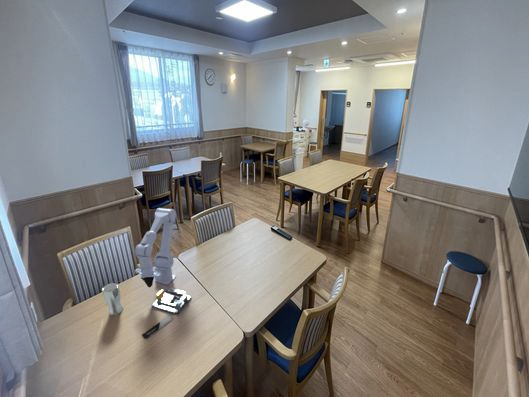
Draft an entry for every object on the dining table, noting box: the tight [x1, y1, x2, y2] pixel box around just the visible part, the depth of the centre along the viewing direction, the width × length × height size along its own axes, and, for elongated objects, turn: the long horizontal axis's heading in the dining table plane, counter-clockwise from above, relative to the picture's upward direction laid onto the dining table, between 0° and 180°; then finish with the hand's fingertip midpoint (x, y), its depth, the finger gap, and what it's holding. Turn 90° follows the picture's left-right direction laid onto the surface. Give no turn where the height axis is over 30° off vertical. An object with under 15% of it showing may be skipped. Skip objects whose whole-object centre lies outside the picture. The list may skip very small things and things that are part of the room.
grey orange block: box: [156, 289, 175, 303], centre depth 133 cm, size 8×4×4 cm, turn 73°
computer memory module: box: [141, 314, 174, 340], centre depth 119 cm, size 15×1×4 cm
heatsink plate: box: [151, 287, 192, 316], centre depth 133 cm, size 16×12×4 cm
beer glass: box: [101, 282, 124, 316], centre depth 125 cm, size 7×7×15 cm
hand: (150, 286), depth 134 cm, fingers closed
